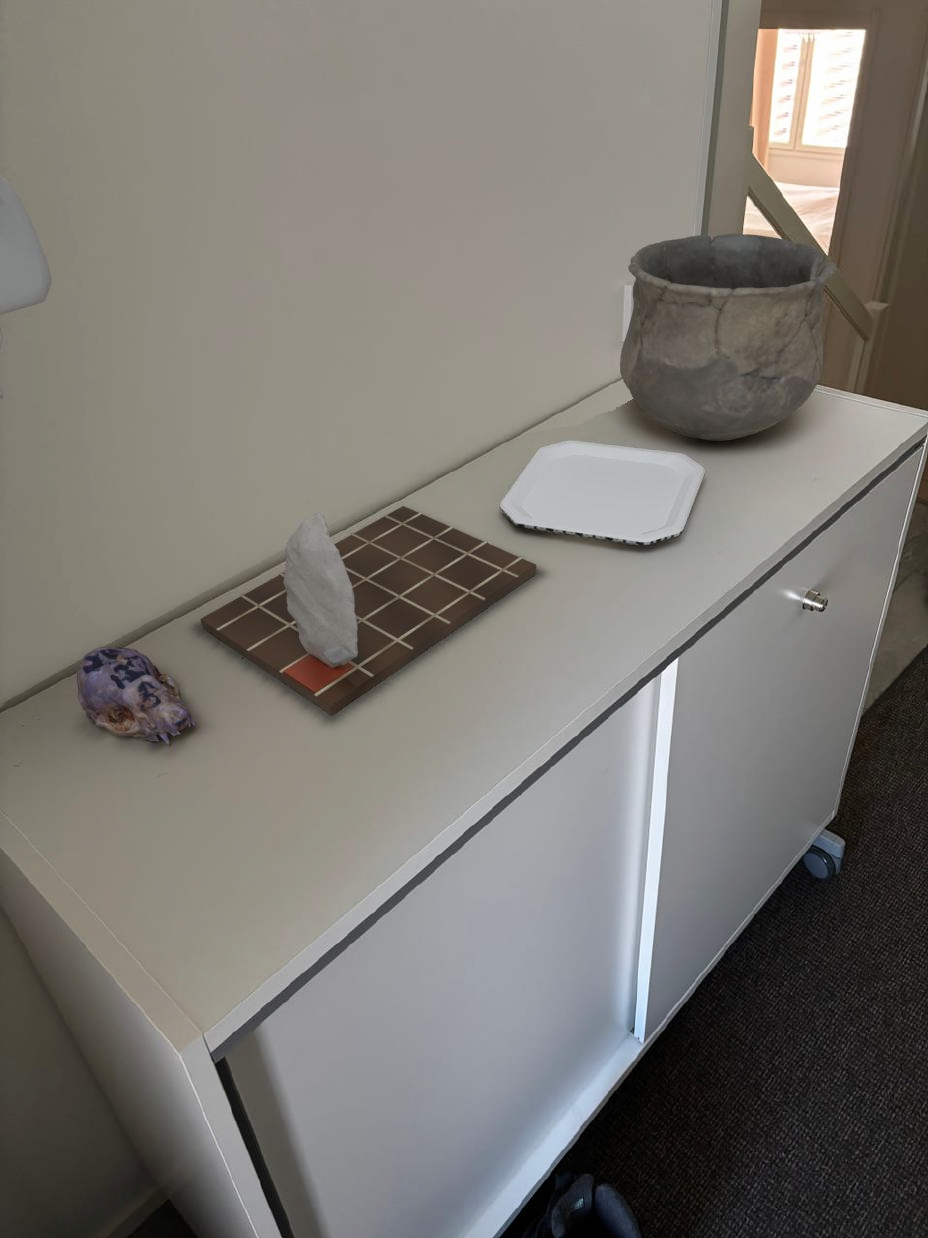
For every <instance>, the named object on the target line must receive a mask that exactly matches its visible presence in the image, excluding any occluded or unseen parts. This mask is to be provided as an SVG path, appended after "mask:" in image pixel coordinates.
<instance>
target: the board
mask: <svg viewBox="0 0 928 1238" xmlns="http://www.w3.org/2000/svg"><path fill="white" fill-rule="evenodd" d="M334 545H335V546H336V548H337V549H338V550H339V554H340V556H341V558H342V561H343V562H344V565H345V569H346V571H347V574H348V576H349V579H350V582H351V583H352V588H353V593H354V606H355V608H354V610H355V611H354V612H355V616H356V619H357V628H358V629H357V638H358V641H357V648H358V654H357V656H356V657H354V658H353V659H352V660H350V662H347V663H346V664H345V665H342V664H341V665H338V666H336V667H333V668H332V667H330V666H329V665H327V664H326V663H324V662H322V661H321V660H320V659H319V658H317V657H315V656H313V655H311V654H309V653H308V652H307V651H306V650H305V649H304V647H303V645H302V644H301V642H300V638H299V630H298V627H297V624H296V622H295V620H294V618H293V617H292V616H291V615H290V614H289V612H288V609H287V606H288V604H287V591H286V588H285V586H284V572H280V573H278V575H276V576H275V577H273V578H271V579H269V580H268V581H266V582H264V583H261V584H260V585H259V586H257V587H255V588H254V589H251V590H249V591H248V592H246V593H244V594H240V595H239V596H238V597H237V598H235V599H233V600H231V601H230V602H228V603H226V604H224V605H222V606H221V607H219V608H217V609H215V610H214V611H212V612H210V613H209V614H207V615H204V616H203V617H201V618H200V623H201V626H202V629H203V630H205V631H206V632H208V633H209V634H211V635H212V636H214V638H217V640H219V641H221V642H222V643H224V644H226V645H227V646H229V647H230V648H231V649H233V650H234V651H236V652H237V653H239V654H240V655H242V656H243V657H245V658H246V659H248V660H249V661H250V662H252V663H254V664H255V665H256V666H258V667H260V668H261V669H263V670H264V671H265V672H267V673H268V674H270V675H271V676H272V677H274V678H276V679H277V680H278V681H280V682H281V683H283V684H284V685H286V686H288V687H289V688H291V689H292V690H294V692H297V693H298V695H301V696H303V697H304V698H305V699H307V700H308V701H309V702H311V703H313V704H314V705H316V706H317V707H318V708H320V709H321V710H323V711H324V712H326V713H327V714H329V715H331V716H333V715H335V714H336V713H338V712H339V711H341V710H342V709H343V708H345V707H346V706H348V705H349V704H351V703H352V702H354V701H355V700H357V699H358V698H360V697H361V696H363V694H365V693H366V692H368V691H369V690H371V689H373V688H374V687H375V686H376V685H378V684H379V683H381V682H383V681H384V680H385V679H387V678H388V677H389V676H391V675H393V674H394V673H396V672H397V671H398V670H400V669H401V668H403V667H404V666H406V665H407V664H408V663H410V662H412V661H413V660H414V659H416V658H417V657H418V656H420V655H421V654H423V653H425V652H426V651H427V650H429V649H430V648H432V647H433V646H435V645H436V644H438V643H439V642H441V641H442V640H443V639H444V638H446V637H448V636H449V635H450V634H452V633H454V632H455V631H456V630H458V629H459V628H460V627H462V626H463V625H466V623H468V622H469V621H470V620H472V619H474V618H475V617H477V616H478V615H479V614H480V613H482V612H484V611H485V610H487V609H488V608H489V607H491V606H492V605H493V604H495V603H497V601H500V600H501V599H502V598H503V597H505V596H506V595H508V594H509V593H511V592H512V591H514V590H515V589H517V588H518V587H519V586H521V585H522V584H524V583H526V582H527V581H528V580H530V579H531V578H532V577H534V576H536V575H537V564H536V563H534V562H532V561H529V560H527V559H524V558H523V557H522V556H518V555H516V554H513V553H511V552H508V551H507V550H504V549H501V548H499V547H497V546H496V545H493V544H491V543H489V542H488V541H486V540H484V541H483V540H481V539H479V538H478V537H475V536H472V535H471V534H468V533H465V532H464V531H461V530H459V529H458V528H455V527H454V526H449V525H448V524H445V523H443V522H441V521H438V520H437V519H435V518H432V517H430V516H427V515H425V514H424V513H422V512H418V511H416V510H414V509H412V508H409V507H407V506H405V505H402V506H400V507H398V508H396V509H395V510H393V511H392V512H389V513H388V514H384V515H383V516H382V517H380V518H379V519H377V520H375V521H373V522H371V523H370V524H368V525H366V526H364V527H362V528H361V529H359V530H357V531H355V532H354V533H350V535H348V536H347V537H345V538H343V539H341V540H339V541H337V542H336V543H334Z"/></svg>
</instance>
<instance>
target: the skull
mask: <svg viewBox="0 0 928 1238" xmlns="http://www.w3.org/2000/svg"><path fill="white" fill-rule="evenodd" d="M75 674H76V675H75V676H76V685H77V699H78V703H79V705H80V706H81V708H82V710H83V711H85V717H86V718H87V719H89V720H90V721H91V722H92V724H93V725H94V726H95V727H97V728H104V729H106V731H109V732H110V733H112V734H113V735H115V736H119V737H132V738H139V739H141V741H145V740H147V741H150V742H160V740H159V738H158V735H159V736H160V739H162V740H163V741H164V742H165V743H166V744H167V745H170V740H169V737H168V734H171V735H172V736H173V737H175V736H177V735H181V733H180V731H181V730H183V729H185V728H186V727H187V726H188V728H190V727H191V725H192V726H193V727H195V726H196V721H195V719H194V717H193V715H192V713H191V712H190V710H189V708H188V707H187V706H186V704H185V703H184V702H183V701H182V699H181V695H182V694H181V690H180V688H179V686H178V685H177V683H176V682H175V681H174V679H172V678H171V676H170V675H169V674H168V673H161V672H160V671H159V669H158V667H157V666H156V665H154V664H153V662H152V661H151V659H150V658H149V657H148V656H147V655H145V654H144V653H143V652H140V651H138V649H135V648H130V647H129V648H128V647H121V646H119V647H114V646H99V647H95V648H94V649H93V650H91V651H89V652H88V653H86V654H84V656H83V657H82V659H81V662H80V664H79V666H78V668H77V671H76V673H75ZM164 684H167V686H169V687H170V688H171V690H173V691H170V689H168V688H167V687H166V685H164ZM111 718H112V720H113V719H114V720H115V721H111V720H110V719H111Z"/></svg>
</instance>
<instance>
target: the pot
mask: <svg viewBox="0 0 928 1238" xmlns="http://www.w3.org/2000/svg"><path fill="white" fill-rule="evenodd" d="M826 260H827V257H826V256H825V255H824V254H823V253H822V252H821V251H820V250H818V249H817V248H815V247H814V246H811V245H808V244H805V243H800V242H799V243H798V242H794V241H793V240H788V239H783V238H780V237H773V236H767V235H761V234H750V233H749V234H748V233H747V234H745V233H727V234H726V233H725V234H719V235H715V236H713V237H711V236H710V235H708V234H699V235H698V234H697V235H692V236H691V235H690V236H687V237H682V238H676V239H667V240H661V241H660V242H655V243H651V244H648V245H646V246H644V247H641V248H640V249H639V250H637V252H636V253H635V254H634V255H633V256H632V257H631V258H630V263H629V264H628V267H627V268H628V271H629V273H630V274H631V275H632V276H633V277H634V278H635V280H634V283H633V285H632V301H633V302H632V303H633V307H632V313H631V317H630V320H629V324H628V328H627V331H626V335H625V338H624V341H623V344H622V347H621V351H620V358H619V372H620V376H621V379H622V381H623V383H624V384H625V386H626V388H627V390H629V392H630V395H631V397H632V399H633V401H634V403H636V405H637V406H638V407H639V408H640V409H641V410H642V411H643V412H644V413H646V414H647V415H648V416H649V418H651V419H652V420H654V422H655V423H656V424H657V425H659V426H661V427H663V428H665V429H667V430H669V431H672V432H674V433H676V434H679V435H682V436H684V437H687V438H688V437H689V438H694V439H699V440H704V441H712V442H724V441H731V440H732V441H734V440H738V439H741V438H744V437H748V436H751V435H754V434H757V433H760V432H763V431H765V430H767V429H769V428H771V427H773V426H775V425H776V424H777V423H779V422H781V421H783V420H785V419H786V418H787V417H790V415H792V414H794V413H795V412H796V411H797V410H798V409H800V408H801V407H802V406H803V405H804V404H805V403H806V402H807V400H808V399H809V398H810V396H811V395H812V394H813V392H814V391H815V389H816V387H817V385H818V383H819V382H820V380H821V378H822V373H823V368H824V367H823V366H824V341H823V326H822V325H823V315H824V310H825V309H824V308H825V306H824V305H825V304H824V295H825V288H826V287H825V286H826V284H827V283H829V281H830V280H831V279H832V278H833V277H835V275H836V274H837V272H838V268H837V266H836V264H835V263H834V262H833V261H832V262H831V261H828V262H825V261H826ZM824 262H825V263H824ZM823 263H824V265H823V266H822V267H821V265H822V264H823ZM820 268H821V269H820Z"/></svg>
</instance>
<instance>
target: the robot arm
mask: <svg viewBox="0 0 928 1238" xmlns="http://www.w3.org/2000/svg"><path fill="white" fill-rule="evenodd" d="M45 254H46V253H45V252H44V249H43V246H42V244H41V241H40V239H39V236H38V234H37V231H36V229H35V227H34V225H33V222H32V220H31V217H30V216H29V214H28V211H27V209H26V207H25V205H24V203H23V201H22V199H21V197H20V196H19V194H18V192H17V191H16V189H15V188H14V187H13V185H12V184H11V183H10V182H9V181H8V180H7V179H6V178H5V177H4V176H3V175H1V174H0V316H2V315H5V314H9V313H13V312H15V311H19V310H22V309H25V308H28V307H33V306H37V305H39V304H42V303H44V302H46V300H47V298H48V295H49V292H50V289H51V285H52V281H53V278H52V273H51V269H50V266H49V263H48V260H47V257H46V255H45ZM3 337H4V335H3V332H2V329H1V328H0V349H1V347H2V342H3V339H4V338H3ZM2 399H4V393H3V389H2V388H1V386H0V400H2Z"/></svg>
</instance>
